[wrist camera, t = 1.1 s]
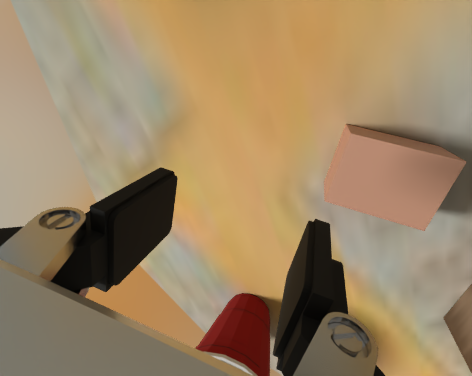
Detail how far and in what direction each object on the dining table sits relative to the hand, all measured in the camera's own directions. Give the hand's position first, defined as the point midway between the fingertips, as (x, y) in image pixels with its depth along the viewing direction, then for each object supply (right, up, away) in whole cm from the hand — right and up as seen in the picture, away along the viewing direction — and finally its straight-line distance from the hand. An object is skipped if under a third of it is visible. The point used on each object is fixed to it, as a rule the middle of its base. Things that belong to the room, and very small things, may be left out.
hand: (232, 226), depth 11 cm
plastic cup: (+2, -15, +26) cm, 30 cm away
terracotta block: (+14, +4, +14) cm, 20 cm away
